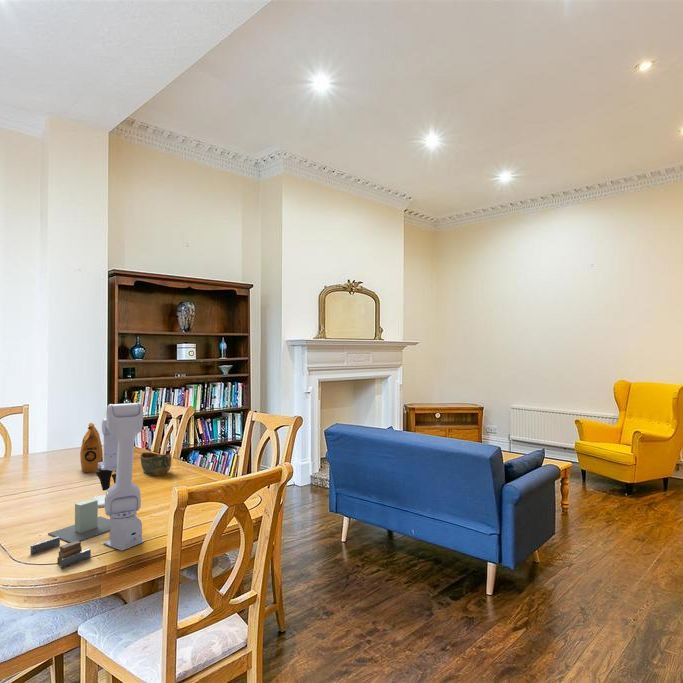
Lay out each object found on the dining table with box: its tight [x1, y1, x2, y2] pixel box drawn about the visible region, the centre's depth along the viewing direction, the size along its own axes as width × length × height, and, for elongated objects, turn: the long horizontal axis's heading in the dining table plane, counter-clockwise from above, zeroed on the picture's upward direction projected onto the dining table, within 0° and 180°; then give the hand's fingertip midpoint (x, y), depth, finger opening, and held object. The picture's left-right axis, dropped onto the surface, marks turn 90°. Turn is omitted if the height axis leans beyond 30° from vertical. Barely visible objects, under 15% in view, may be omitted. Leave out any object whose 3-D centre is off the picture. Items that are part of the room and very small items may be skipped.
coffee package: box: [79, 422, 104, 474], centre depth 238 cm, size 10×12×22 cm
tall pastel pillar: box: [74, 498, 99, 533], centre depth 163 cm, size 3×6×9 cm, turn 148°
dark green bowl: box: [140, 451, 172, 477], centre depth 233 cm, size 13×20×10 cm, turn 25°
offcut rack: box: [30, 537, 92, 570], centre depth 144 cm, size 17×8×2 cm, turn 58°
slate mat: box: [47, 516, 110, 544], centre depth 164 cm, size 14×18×1 cm
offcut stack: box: [56, 541, 83, 566], centre depth 141 cm, size 2×6×5 cm, turn 148°
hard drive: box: [93, 494, 106, 509], centre depth 192 cm, size 2×8×12 cm
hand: (112, 491), depth 171 cm, fingers open, 7 cm apart
